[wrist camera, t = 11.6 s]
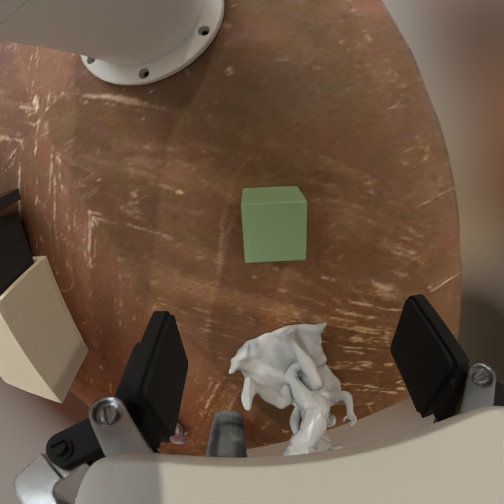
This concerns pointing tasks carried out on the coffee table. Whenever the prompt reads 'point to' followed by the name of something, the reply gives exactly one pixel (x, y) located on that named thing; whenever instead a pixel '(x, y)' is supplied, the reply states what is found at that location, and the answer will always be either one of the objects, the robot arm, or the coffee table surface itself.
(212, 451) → the beverage cup
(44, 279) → the cream drawer box
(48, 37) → the robot arm
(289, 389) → the figurine
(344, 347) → the coffee table surface
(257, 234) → the block
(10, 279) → the dark grey drawer
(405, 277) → the coffee table surface
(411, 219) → the coffee table surface
